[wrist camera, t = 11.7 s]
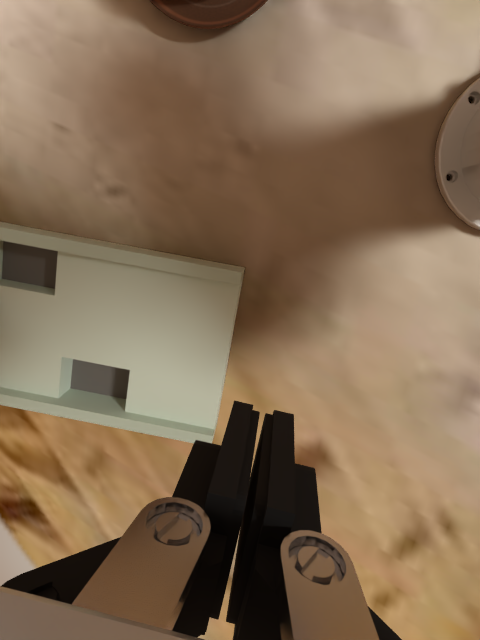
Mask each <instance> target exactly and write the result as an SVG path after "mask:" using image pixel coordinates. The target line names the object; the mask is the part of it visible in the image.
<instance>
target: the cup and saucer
mask: <svg viewBox="0 0 480 640" xmlns="http://www.w3.org/2000/svg"><path fill="white" fill-rule="evenodd" d="M150 1H151V2H152V3H153V4H154V5H155V6H156V7H157V8H158V9H159V10H160V11H162V12H163V13H164V14H165V15H167V16H169V17H170V18H172V19H174V20H176V21H178V22H180V23H182V24H185V25H187V26H191V27H196V28H204V29H213V28H221V27H226V26H229V25H232V24H235V23H237V22H240V21H242V20H244V19H245V18H247V17H249V16H250V15H252V14H253V13H254V12H256V11H257V10H258V9H259V8H260V7H262V6H263V5H264V4H265V3H266V1H267V0H150Z"/></svg>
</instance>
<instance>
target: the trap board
mask: <svg viewBox="0 0 480 640" xmlns="http://www.w3.org/2000/svg"><path fill="white" fill-rule="evenodd" d="M244 271H245V267H240V266H235V265H229V264H224V263H219V262H213V261H208V260H203V259H197V258H192V257H187V256H181V255H176V254H171V253H165V252H160V251H154V250H149V249H144V248H138V247H133V246H128V245H122V244H117V243H112V242H106V241H101V240H96V239H90V238H85V237H80V236H74V235H69V234H63V233H58V232H53V231H47V230H42V229H37V228H31V227H26V226H21V225H15V224H10V223H5V222H0V405H4V406H9V407H14V408H19V409H24V410H29V411H34V412H39V413H44V414H49V415H54V416H59V417H64V418H69V419H74V420H80V421H85V422H90V423H95V424H100V425H105V426H110V427H115V428H120V429H125V430H130V431H135V432H140V433H145V434H150V435H155V436H160V437H165V438H170V439H175V440H180V441H185V442H190V443H194V442H195V440H199V441H204V442H208V443H212V441H213V437H214V433H215V429H216V425H217V420H218V414H219V409H220V403H221V398H222V392H223V387H224V381H225V376H226V370H227V365H228V359H229V354H230V348H231V342H232V337H233V331H234V326H235V320H236V315H237V309H238V304H239V298H240V293H241V287H242V282H243V276H244Z"/></svg>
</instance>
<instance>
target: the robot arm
mask: <svg viewBox="0 0 480 640" xmlns="http://www.w3.org/2000/svg"><path fill="white" fill-rule="evenodd" d="M468 98H471V100H472V103H471V104H470V103H469V101H468ZM434 163H435V172H436V179H437V182H438V186H439V189H440V192H441V194H442V196H443V198H444V200H445V201H446V203H447V205H448V206H449V207H450V209H451V210H452V211H453V212H454V213H455V214H456V216H457V217H459V218H460V219H461V220H463V221H464V222H465V223H467V224H468V225H469V226H471V227H473V228H476V229H478V230H480V78H479V79H477V80H476V81H475V82H473V83H472V84H471V85H470V86H469V87H468V88H467V89H466V90H465V91H464V92H463V93H462V94H461V95H460V96H459V97H458V98H457V100H456V101H455V103H454V104H453V106H452V107H451V109H450V110H449V111H448V113H447V115H446V117H445V120H444V122H443V124H442V126H441V128H440V132H439V135H438V139H437V143H436V149H435V161H434ZM447 174H448V175H450V180H449V181H447V179H446V175H447ZM252 409H253V405H251V404H247V403H242V402H238V401H234V404H233V407H232V411H231V414H230V418H229V421H228V424H227V428H226V431H225V435H224V438H223V442H222V445H221V446H220V445H216V444H212V443H208V442H204V441H199V440H195V442H194V445H193V447H192V450H191V452H190V455H189V457H188V459H187V462H186V464H185V467H184V469H183V472H182V474H181V476H180V479H179V481H178V484H177V486H176V489H175V491H174V494H173V496H172V497H166V498H162V499H157V500H155V501H153V502H151V503H149V504H148V505H147V506H145V507H144V508H143V509H142V510H141V512H140V513H139V514H138V516H137V517H136V518H135V520H134V521H133V522H132V524H131V525H130V526H129V528H128V529H127V530H126V532H125V533H124V534H123V536H122V537H120V538H117V539H114V540H112V541H109V542H106V543H103V544H101V545H98V546H95V547H93V548H90V549H87V550H85V551H82V552H79V553H77V554H74V555H71V556H69V557H66V558H63V559H61V560H58V561H55V562H52V563H50V564H47V565H44V566H42V567H39V568H36V569H34V570H31V571H28V572H26V573H23V574H21V575H19V576H17V577H15V578H13V579H11V580H9V581H7V582H6V583H4V584H3V585H2V586H0V640H204V639H200V638H197V637H198V636H200V635H205V632H206V630H207V626H208V621H209V617H211V618H214V619H219V615H220V611H221V606H222V602H223V598H224V594H225V590H226V585H227V581H228V577H229V573H230V569H231V564H232V560H233V556H234V552H235V548H236V543H237V539H238V535H239V540H238V547H237V553H236V560H235V566H234V573H233V579H232V586H231V592H230V598H229V605H228V611H227V618H226V622H229V623H233V624H235V629H234V636H233V640H402V639H401V638H400V637H399V636H398V635H397V634H396V633H395V632H394V631H393V630H392V629H391V628H390V627H389V626H387V625H386V624H385V623H384V622H383V621H382V620H381V619H380V618H379V617H378V616H377V615H376V614H375V613H374V612H373V611H372V610H371V609H370V608H369V607H368V606H367V603H366V600H365V597H364V594H363V591H362V588H361V585H360V583H359V580H358V577H357V574H356V571H355V568H354V565H353V563H352V561H351V559H350V557H349V555H348V553H347V552H346V551H345V550H344V549H343V548H342V547H341V545H339V544H338V543H337V542H335V541H334V540H333V539H331V538H330V537H328V536H326V535H324V534H321V524H320V514H319V503H318V493H317V483H316V473H315V469H314V468H312V467H308V466H304V465H299V464H295V457H294V414H289V413H285V412H281V411H277V410H274V412H273V415H271V414H267V413H266V414H265V417H264V422H263V426H262V430H261V434H260V438H259V443H258V447H257V451H256V455H255V460H254V464H253V468H252V472H251V467H252V460H253V454H254V447H255V440H256V433H257V427H258V420H259V413H260V412H258V411H254V410H252ZM250 474H251V477H250ZM249 480H250V481H249ZM240 527H241V528H240ZM239 531H240V534H239Z"/></svg>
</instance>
